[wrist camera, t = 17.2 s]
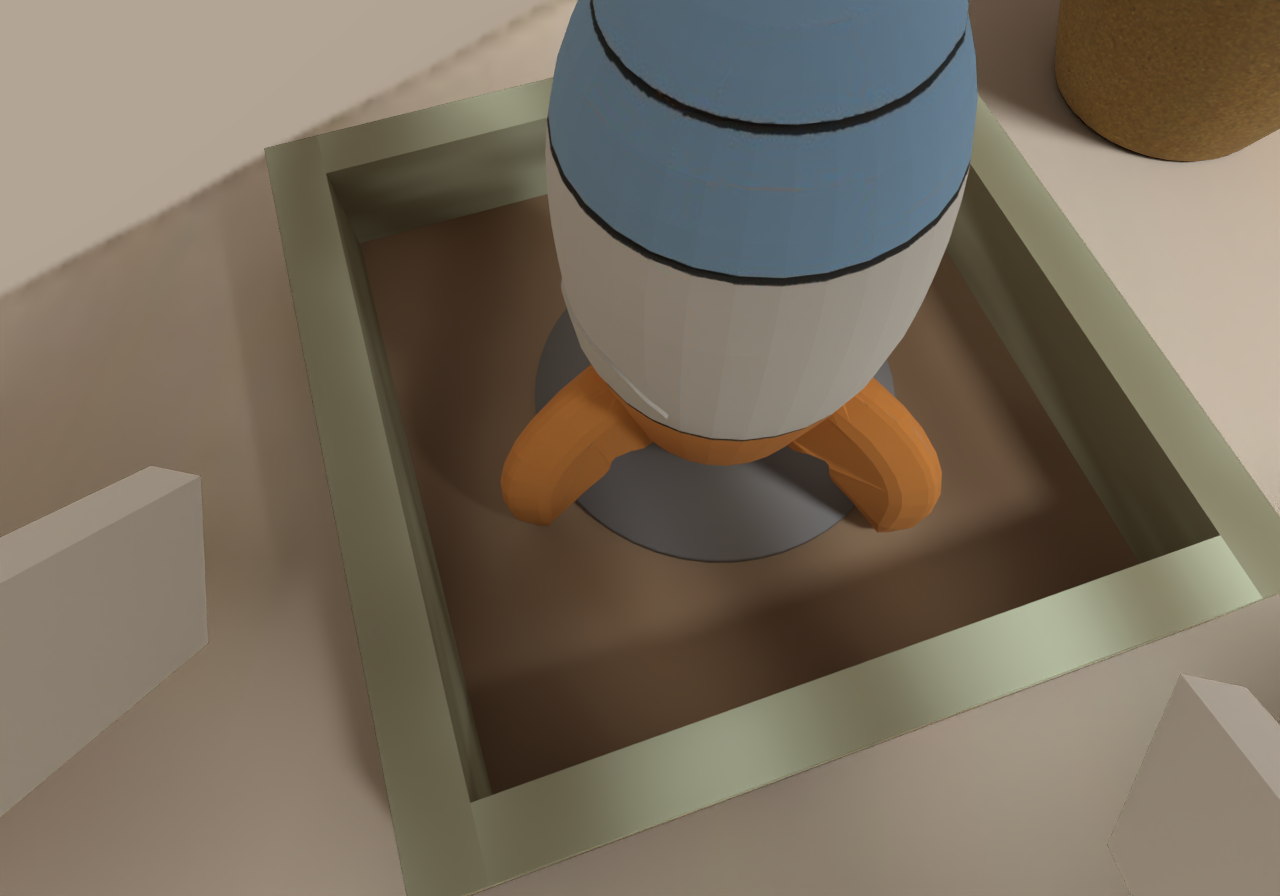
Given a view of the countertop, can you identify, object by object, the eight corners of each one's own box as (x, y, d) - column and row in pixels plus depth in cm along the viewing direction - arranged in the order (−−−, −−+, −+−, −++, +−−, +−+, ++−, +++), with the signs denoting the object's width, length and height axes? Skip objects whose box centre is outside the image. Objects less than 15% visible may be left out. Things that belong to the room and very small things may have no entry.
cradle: (874, 94, 30) (905, -9, 26) (1209, 621, 22) (1322, 576, 18) (315, 240, 27) (264, 148, 24) (455, 900, 19) (410, 914, 15)
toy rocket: (520, 616, 21) (177, 59, 9) (574, 317, 28) (408, -251, 16) (938, 624, 20) (1171, -43, 8) (896, 304, 26) (990, -347, 14)
